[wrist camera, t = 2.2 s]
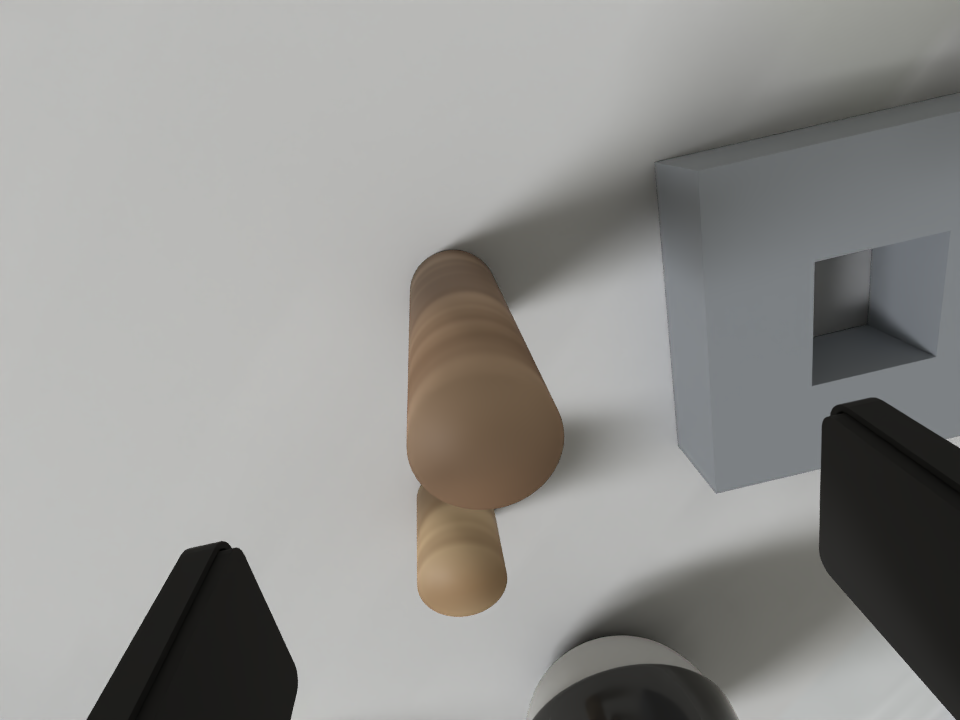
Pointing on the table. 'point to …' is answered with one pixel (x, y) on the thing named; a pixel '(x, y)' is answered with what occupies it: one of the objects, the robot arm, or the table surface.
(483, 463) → the long pin
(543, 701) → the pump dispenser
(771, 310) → the block
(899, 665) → the table surface
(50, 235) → the table surface
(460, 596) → the short pin
